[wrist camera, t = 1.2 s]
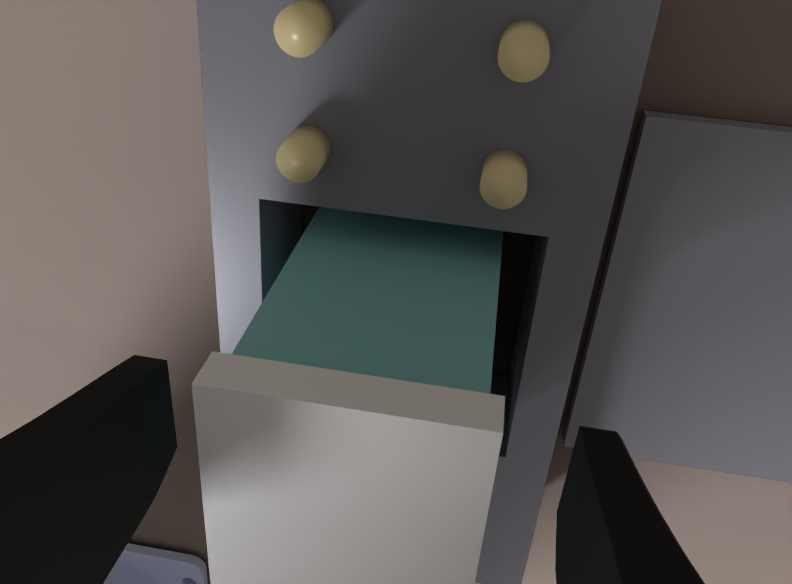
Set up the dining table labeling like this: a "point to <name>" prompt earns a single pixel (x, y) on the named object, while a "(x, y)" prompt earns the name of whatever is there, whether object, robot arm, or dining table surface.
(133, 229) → the dining table surface
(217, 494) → the plug
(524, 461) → the box
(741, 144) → the pad
